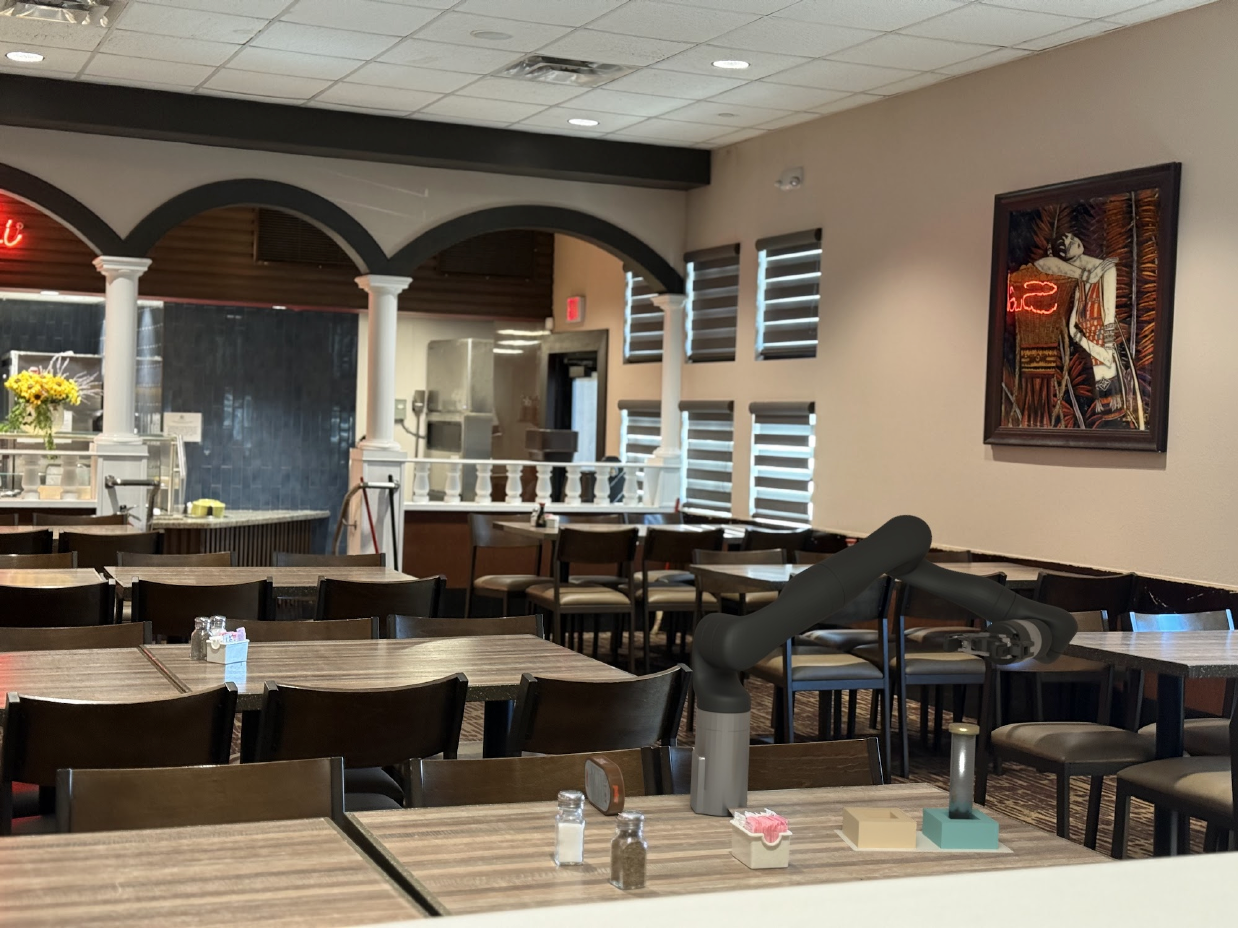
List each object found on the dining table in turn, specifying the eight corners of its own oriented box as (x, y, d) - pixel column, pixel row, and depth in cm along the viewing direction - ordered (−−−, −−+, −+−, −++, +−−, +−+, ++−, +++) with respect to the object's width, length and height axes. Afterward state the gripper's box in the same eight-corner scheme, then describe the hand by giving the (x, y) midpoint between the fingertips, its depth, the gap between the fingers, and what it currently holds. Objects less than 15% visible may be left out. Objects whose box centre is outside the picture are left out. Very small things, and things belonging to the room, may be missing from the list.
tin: (625, 819, 237) (627, 768, 237) (607, 820, 236) (609, 768, 236) (597, 798, 251) (599, 749, 251) (580, 798, 250) (582, 750, 250)
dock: (853, 860, 217) (855, 823, 217) (833, 839, 229) (834, 804, 229) (1013, 861, 220) (1015, 825, 220) (985, 840, 232) (986, 806, 232)
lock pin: (949, 844, 223) (954, 727, 223) (940, 836, 228) (944, 722, 228) (978, 844, 224) (983, 728, 224) (968, 837, 228) (973, 723, 228)
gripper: (974, 616, 256) (931, 621, 243) (1052, 624, 247) (1011, 630, 234) (972, 658, 256) (929, 666, 243) (1050, 668, 247) (1009, 676, 234)
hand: (969, 648), depth 239 cm, fingers open, 8 cm apart
